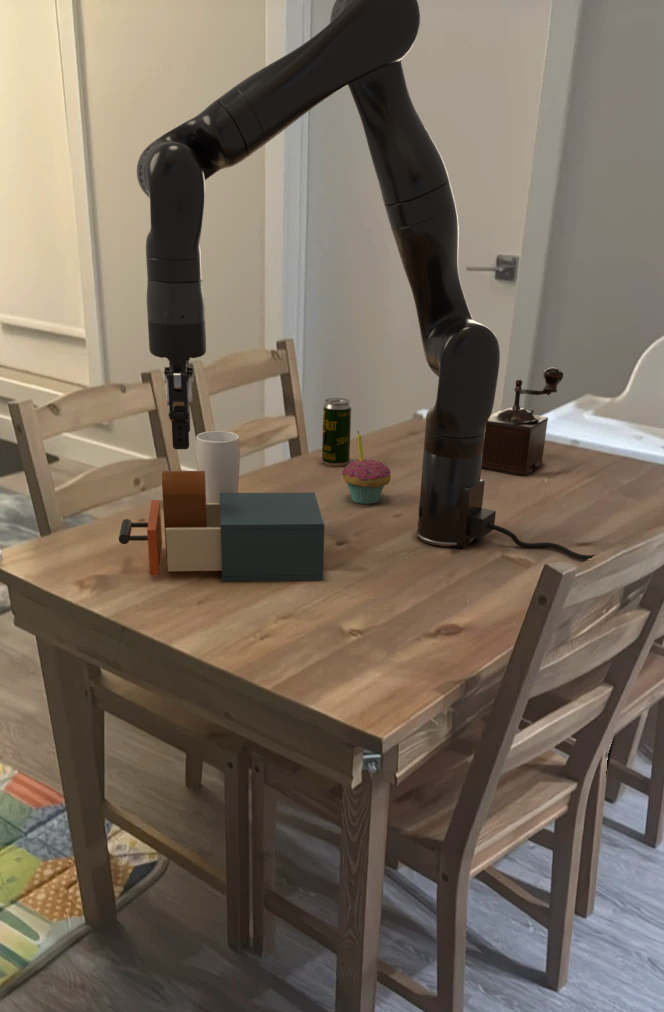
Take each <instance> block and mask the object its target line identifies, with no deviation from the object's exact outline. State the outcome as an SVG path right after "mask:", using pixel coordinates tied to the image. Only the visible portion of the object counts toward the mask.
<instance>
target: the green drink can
mask: <svg viewBox="0 0 664 1012" xmlns="http://www.w3.org/2000/svg"><path fill="white" fill-rule="evenodd" d="M351 427H352V405H351V400H350V399H348V398H344V397H329V398H326V399H324V404H323V406H322V441H321V442H322V444H321V447H322V449H321V460H322V462H323V464H324V465H325V466H328V467H334V468H341V467H346V466H347V464H348V465H349V463H350V452H351Z"/></svg>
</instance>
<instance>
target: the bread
mask: <svg viewBox="0 0 664 1012" xmlns="http://www.w3.org/2000/svg"><path fill="white" fill-rule="evenodd" d="M161 489H162V490H161V492H162V505H163V506H162V508H163V522H164V523H163V524H164V527H163V528H164V540H165V541H164V542H165V544H166V528H191V527H207V513H206V486H205V471H198V470H162V472H161ZM165 558H166V559H167V546H166V545H165Z"/></svg>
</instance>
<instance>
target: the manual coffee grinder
mask: <svg viewBox="0 0 664 1012" xmlns="http://www.w3.org/2000/svg"><path fill="white" fill-rule="evenodd" d="M542 376H543V380H544V382H545V385H544V387H543V388H542V390H533V389H522V386H523V381H522V379H517V380H515V387H514V392H515V394H514V395H515V396H514V404H513V406H512V407H508V408H506V409H503V410H499V411H496V412H494V413H492V414H491V416H490V417H489V419H488V421H487V424H486V432H485V440H484V449H483V458H482V468H481V469H483V470H487V471H488V470H489V471H494V472H498V473H499V472H500V473H504V474H511V475H515V476H522V477H526V476H527V475H529V474H531V473H532V472H534V471H536V470H538V468H539V467H540V466H541V465H542V463H543V456H544V450H545V443H546V435H547V428H548V421H549V417H548V416H543V415H537V414H534V411H535V409H532V410H528V409H527V408H526V407H521V406H520V400H521V395H530V396H542V395H546V396H550V395H551V394H553V393H554V394H556V393H557V392H558V390H557V389H558V385H559V384H560V383H561V381H563V378H564V372H563V371H562V370H561V369H560V368H557V367H552V366H551V367H547V368H546V369H545V370H544V372H543V375H542Z"/></svg>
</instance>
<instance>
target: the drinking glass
mask: <svg viewBox="0 0 664 1012" xmlns="http://www.w3.org/2000/svg"><path fill="white" fill-rule="evenodd" d="M195 438H196V439H195V440H196V441H195V451H196V452H195V453H196V467H197V471H205V486H206V503H220V493H239V482H240V469H241V468H240V466H241V450H240V449H241V448H240V436H239V435H238V434H237V433H235V432H232V431H227V430H208V431H203V432H200V433H198V434H197V435H196V437H195Z"/></svg>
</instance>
